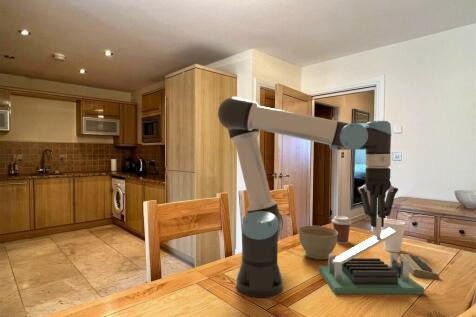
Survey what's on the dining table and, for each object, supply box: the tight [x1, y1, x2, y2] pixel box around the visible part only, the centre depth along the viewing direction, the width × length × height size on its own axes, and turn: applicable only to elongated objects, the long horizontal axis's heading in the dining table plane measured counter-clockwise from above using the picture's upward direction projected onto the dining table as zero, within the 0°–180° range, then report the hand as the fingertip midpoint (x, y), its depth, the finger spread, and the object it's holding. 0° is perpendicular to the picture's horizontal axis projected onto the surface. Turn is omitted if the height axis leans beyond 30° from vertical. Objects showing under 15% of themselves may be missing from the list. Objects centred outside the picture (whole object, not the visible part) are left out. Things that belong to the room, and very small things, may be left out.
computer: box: [398, 253, 440, 280], centre depth 103 cm, size 16×8×3 cm, turn 165°
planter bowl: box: [298, 225, 338, 260], centre depth 115 cm, size 16×16×11 cm
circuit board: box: [318, 265, 425, 295], centre depth 92 cm, size 28×16×2 cm, turn 90°
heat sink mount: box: [327, 252, 410, 285], centre depth 92 cm, size 24×12×8 cm, turn 90°
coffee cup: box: [331, 215, 352, 245], centre depth 133 cm, size 9×9×12 cm
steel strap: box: [331, 228, 397, 266], centre depth 92 cm, size 23×4×2 cm, turn 90°
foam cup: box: [381, 218, 406, 254], centre depth 122 cm, size 10×9×13 cm
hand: (376, 236), depth 92 cm, fingers closed
